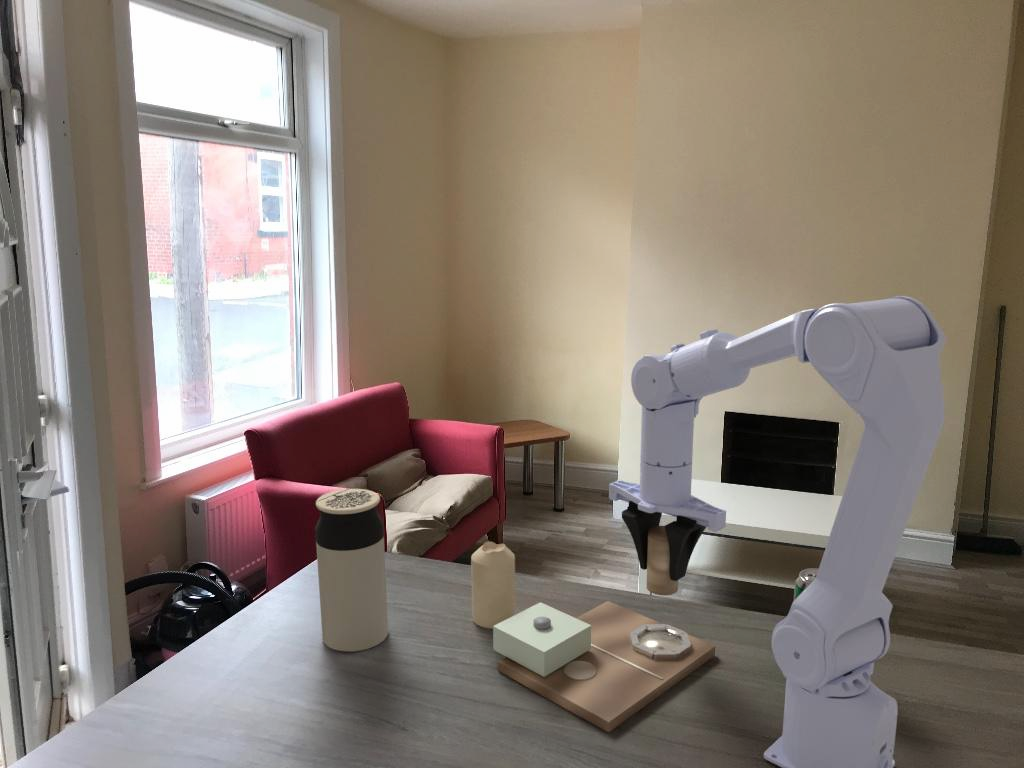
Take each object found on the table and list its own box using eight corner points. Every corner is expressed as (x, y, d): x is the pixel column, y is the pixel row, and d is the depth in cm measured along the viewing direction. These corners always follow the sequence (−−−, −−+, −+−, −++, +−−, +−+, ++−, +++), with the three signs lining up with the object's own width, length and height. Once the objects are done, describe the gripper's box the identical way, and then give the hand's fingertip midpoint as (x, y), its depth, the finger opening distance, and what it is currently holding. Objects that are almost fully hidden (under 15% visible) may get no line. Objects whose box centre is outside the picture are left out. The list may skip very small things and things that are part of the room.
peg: (684, 587, 95) (686, 531, 94) (666, 598, 93) (668, 540, 91) (658, 578, 98) (660, 523, 96) (640, 588, 95) (641, 531, 94)
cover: (590, 648, 95) (591, 620, 94) (544, 676, 90) (544, 647, 89) (540, 624, 101) (540, 597, 100) (493, 649, 95) (493, 621, 94)
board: (715, 655, 96) (715, 644, 96) (608, 732, 83) (608, 720, 82) (607, 609, 107) (607, 599, 107) (497, 670, 94) (497, 659, 93)
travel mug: (401, 635, 101) (395, 498, 97) (348, 661, 96) (339, 516, 92) (362, 614, 107) (355, 482, 103) (309, 637, 101) (300, 499, 97)
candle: (466, 613, 107) (464, 541, 104) (504, 604, 109) (503, 534, 107) (482, 633, 102) (481, 558, 100) (522, 623, 104) (522, 550, 102)
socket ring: (700, 642, 97) (701, 638, 97) (667, 665, 92) (667, 661, 92) (653, 622, 101) (653, 618, 101) (619, 643, 97) (619, 639, 97)
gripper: (593, 453, 94) (591, 563, 97) (703, 483, 84) (697, 604, 87) (630, 441, 99) (628, 546, 102) (738, 467, 89) (732, 582, 92)
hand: (662, 571), depth 95 cm, fingers closed on peg, 4 cm apart
